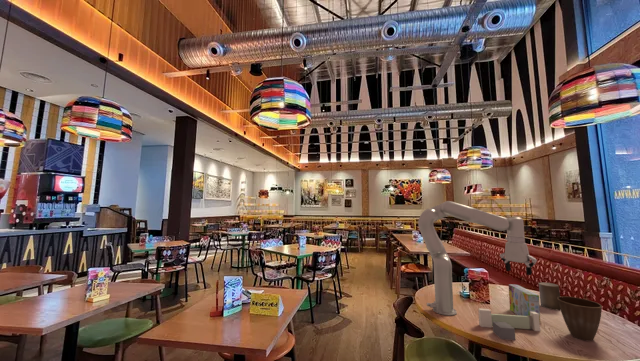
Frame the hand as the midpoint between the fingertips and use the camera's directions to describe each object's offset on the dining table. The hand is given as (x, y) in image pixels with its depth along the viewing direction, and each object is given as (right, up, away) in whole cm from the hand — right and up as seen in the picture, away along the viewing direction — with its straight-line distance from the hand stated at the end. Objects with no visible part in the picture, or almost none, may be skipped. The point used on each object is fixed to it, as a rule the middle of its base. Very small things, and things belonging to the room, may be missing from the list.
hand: (518, 272), depth 139 cm
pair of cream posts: (-12, -24, -9) cm, 28 cm away
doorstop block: (-20, -23, -18) cm, 36 cm away
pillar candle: (+36, -29, +21) cm, 51 cm away
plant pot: (+16, -24, -18) cm, 34 cm away
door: (-10, -24, -9) cm, 28 cm away
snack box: (+7, -27, +5) cm, 28 cm away
